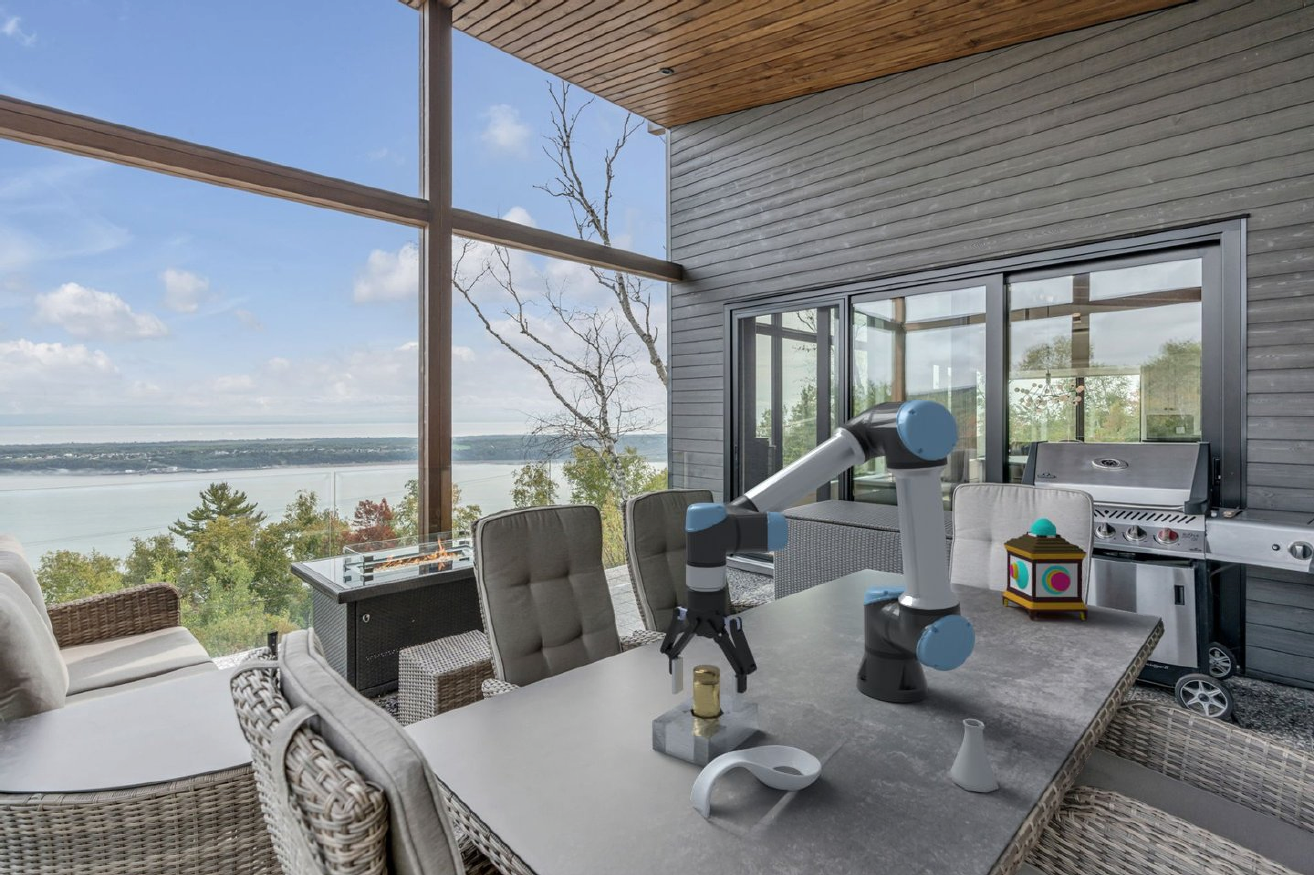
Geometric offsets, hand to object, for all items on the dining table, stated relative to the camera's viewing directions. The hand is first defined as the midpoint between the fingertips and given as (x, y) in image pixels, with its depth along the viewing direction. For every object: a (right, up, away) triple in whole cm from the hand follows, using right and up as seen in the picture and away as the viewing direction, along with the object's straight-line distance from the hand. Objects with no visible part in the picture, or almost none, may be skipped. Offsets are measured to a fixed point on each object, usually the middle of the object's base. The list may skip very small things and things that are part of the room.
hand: (706, 700), depth 123 cm
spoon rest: (+7, -9, -16) cm, 20 cm away
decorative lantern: (+113, -6, +85) cm, 141 cm away
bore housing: (0, -8, 0) cm, 8 cm away
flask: (+43, -8, -13) cm, 46 cm away
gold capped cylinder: (0, -7, 0) cm, 7 cm away
